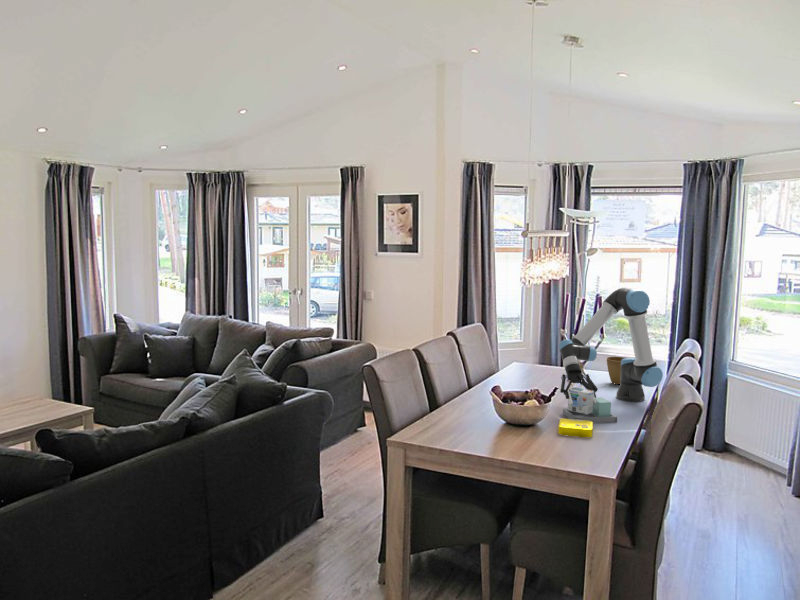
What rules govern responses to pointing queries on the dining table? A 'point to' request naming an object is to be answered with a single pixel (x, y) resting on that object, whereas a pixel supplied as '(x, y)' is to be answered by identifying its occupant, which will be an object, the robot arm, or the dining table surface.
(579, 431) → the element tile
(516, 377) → the dining table surface
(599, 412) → the teal block
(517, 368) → the dining table surface
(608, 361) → the plant pot
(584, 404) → the light bulb box
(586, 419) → the tray
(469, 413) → the dining table surface
